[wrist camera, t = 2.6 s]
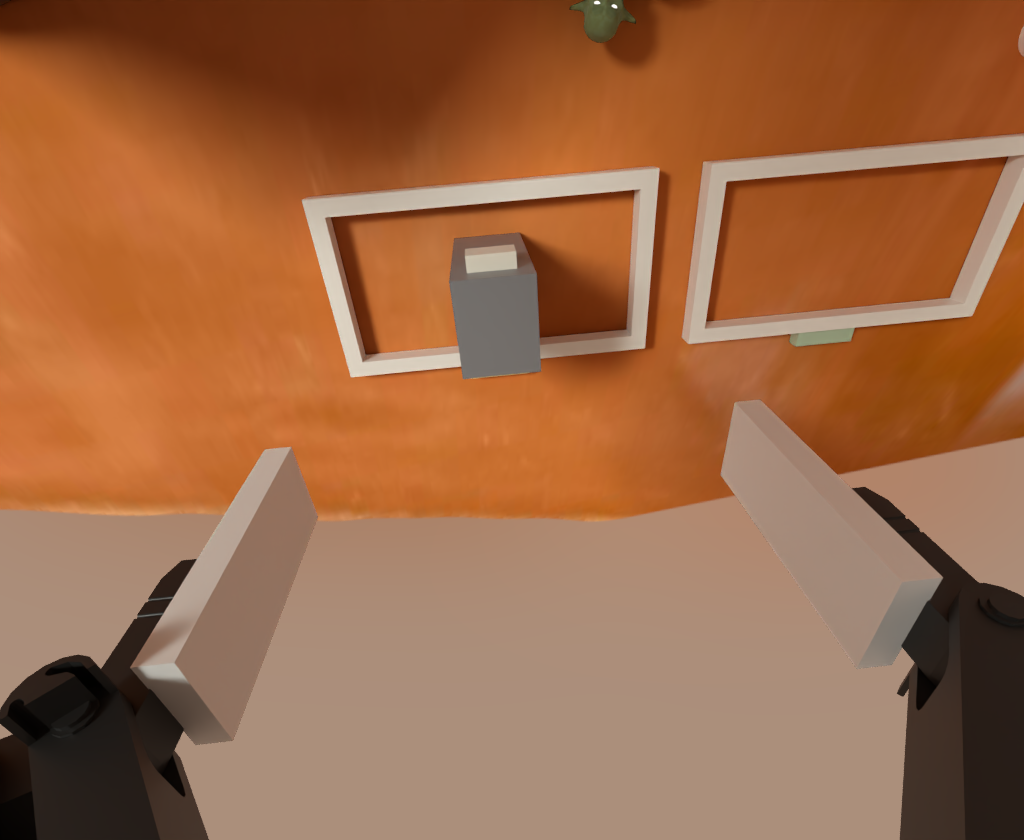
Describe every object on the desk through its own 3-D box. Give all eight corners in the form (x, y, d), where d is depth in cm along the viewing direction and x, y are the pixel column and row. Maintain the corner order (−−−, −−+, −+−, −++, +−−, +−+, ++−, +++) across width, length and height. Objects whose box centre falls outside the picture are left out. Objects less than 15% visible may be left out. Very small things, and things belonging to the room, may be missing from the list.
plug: (464, 316, 32) (463, 379, 25) (452, 224, 29) (446, 263, 22) (524, 310, 33) (541, 371, 25) (518, 218, 29) (535, 255, 22)
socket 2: (679, 352, 35) (686, 360, 34) (703, 161, 29) (711, 163, 28) (950, 326, 36) (964, 332, 35) (1034, 132, 29) (1054, 133, 28)
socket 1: (358, 384, 34) (355, 392, 33) (307, 196, 28) (301, 199, 27) (638, 357, 35) (643, 364, 34) (652, 166, 28) (659, 168, 27)
